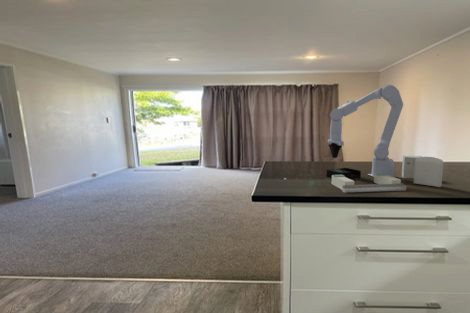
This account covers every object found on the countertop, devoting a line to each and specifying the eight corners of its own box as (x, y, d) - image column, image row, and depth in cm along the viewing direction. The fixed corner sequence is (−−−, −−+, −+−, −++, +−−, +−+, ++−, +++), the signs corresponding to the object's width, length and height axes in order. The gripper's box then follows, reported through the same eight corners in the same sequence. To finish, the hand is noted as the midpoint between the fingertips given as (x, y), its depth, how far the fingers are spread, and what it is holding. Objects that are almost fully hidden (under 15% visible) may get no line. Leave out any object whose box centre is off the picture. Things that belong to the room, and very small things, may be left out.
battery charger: (340, 181, 126) (341, 173, 125) (326, 177, 135) (326, 169, 134) (360, 178, 131) (361, 170, 131) (345, 175, 140) (345, 167, 139)
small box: (419, 177, 132) (421, 155, 130) (422, 179, 127) (424, 157, 125) (401, 175, 135) (402, 155, 133) (403, 178, 130) (404, 156, 128)
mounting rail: (402, 189, 111) (403, 183, 110) (406, 190, 109) (406, 184, 108) (342, 191, 109) (342, 185, 108) (344, 192, 107) (344, 186, 106)
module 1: (340, 183, 121) (340, 174, 120) (354, 190, 109) (354, 180, 108) (331, 183, 120) (331, 174, 120) (344, 191, 109) (345, 180, 108)
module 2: (382, 182, 122) (382, 172, 122) (400, 189, 111) (401, 178, 110) (373, 182, 122) (374, 172, 121) (391, 189, 110) (391, 179, 110)
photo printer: (411, 183, 120) (413, 156, 118) (414, 182, 122) (417, 155, 120) (439, 188, 112) (442, 158, 110) (442, 186, 114) (445, 157, 113)
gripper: (322, 131, 148) (321, 155, 150) (334, 133, 133) (333, 160, 135) (335, 131, 148) (333, 155, 150) (348, 132, 134) (346, 159, 136)
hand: (334, 157), depth 143 cm, fingers closed
